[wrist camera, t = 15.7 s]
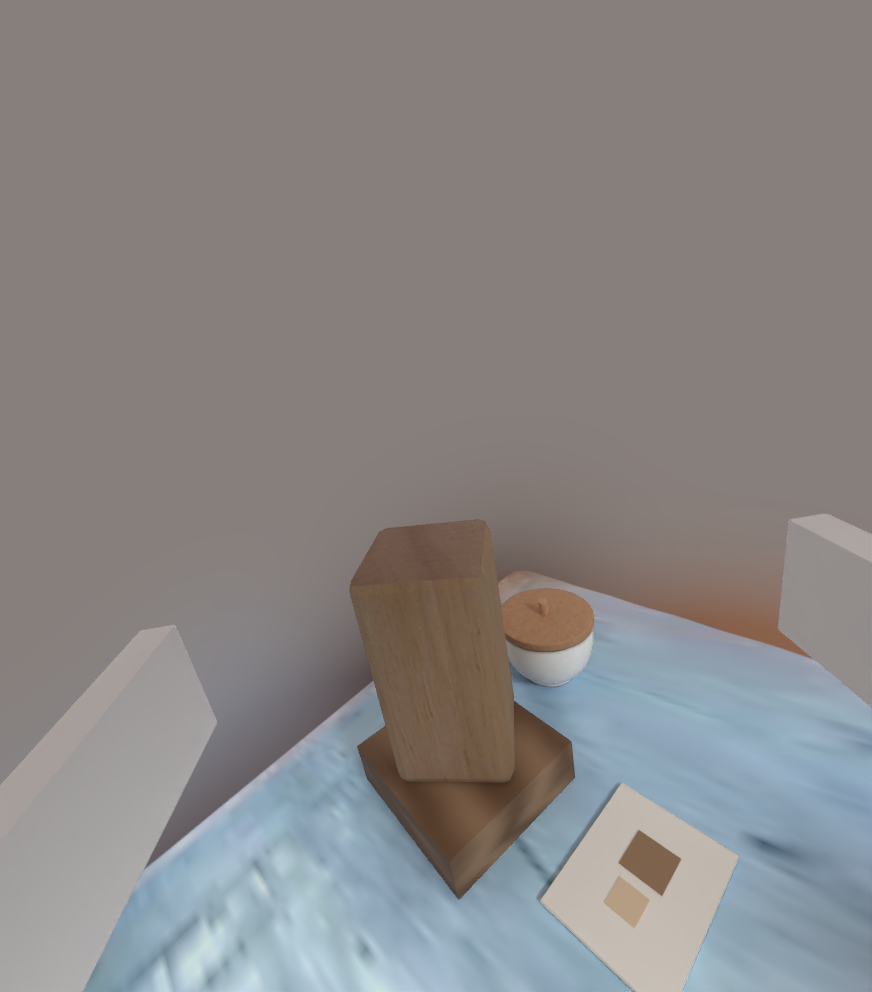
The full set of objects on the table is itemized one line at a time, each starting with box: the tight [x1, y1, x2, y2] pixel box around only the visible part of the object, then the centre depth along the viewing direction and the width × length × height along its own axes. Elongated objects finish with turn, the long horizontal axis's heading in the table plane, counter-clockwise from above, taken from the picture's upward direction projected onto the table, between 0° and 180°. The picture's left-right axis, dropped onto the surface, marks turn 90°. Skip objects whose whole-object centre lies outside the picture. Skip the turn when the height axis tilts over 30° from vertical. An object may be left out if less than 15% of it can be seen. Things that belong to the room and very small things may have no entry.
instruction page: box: [540, 783, 739, 992], centre depth 34 cm, size 12×9×1 cm
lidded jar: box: [501, 588, 594, 687], centre depth 54 cm, size 11×11×9 cm
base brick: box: [357, 701, 575, 899], centre depth 44 cm, size 14×14×5 cm
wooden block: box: [350, 520, 515, 783], centre depth 40 cm, size 10×10×20 cm
